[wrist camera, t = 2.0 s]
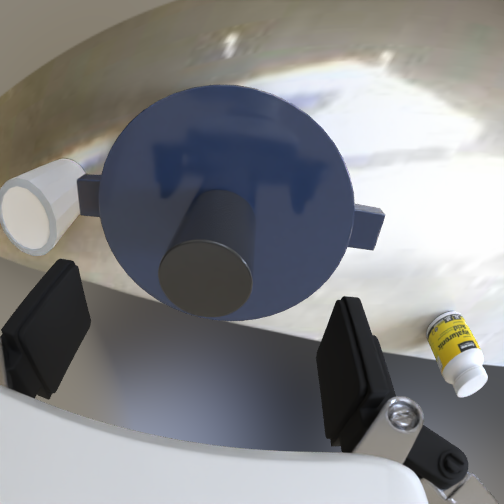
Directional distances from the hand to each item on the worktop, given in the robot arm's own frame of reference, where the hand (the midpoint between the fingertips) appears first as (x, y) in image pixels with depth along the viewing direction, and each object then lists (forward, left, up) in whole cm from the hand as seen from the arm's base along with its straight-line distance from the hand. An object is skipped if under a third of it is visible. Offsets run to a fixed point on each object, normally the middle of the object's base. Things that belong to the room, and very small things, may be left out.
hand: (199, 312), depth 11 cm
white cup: (+3, -16, -17) cm, 23 cm away
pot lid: (0, 0, -7) cm, 7 cm away
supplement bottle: (+15, +27, -17) cm, 35 cm away
